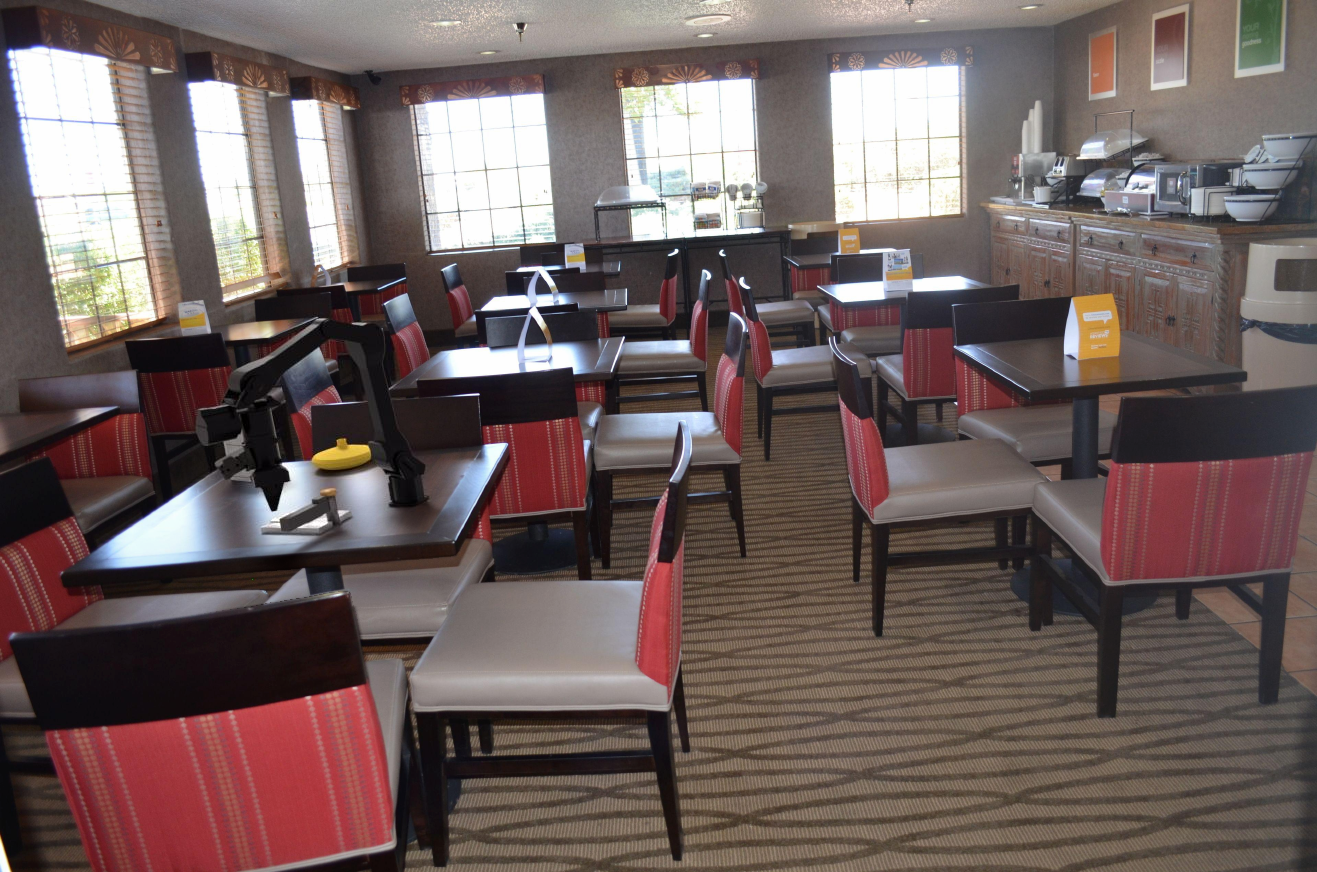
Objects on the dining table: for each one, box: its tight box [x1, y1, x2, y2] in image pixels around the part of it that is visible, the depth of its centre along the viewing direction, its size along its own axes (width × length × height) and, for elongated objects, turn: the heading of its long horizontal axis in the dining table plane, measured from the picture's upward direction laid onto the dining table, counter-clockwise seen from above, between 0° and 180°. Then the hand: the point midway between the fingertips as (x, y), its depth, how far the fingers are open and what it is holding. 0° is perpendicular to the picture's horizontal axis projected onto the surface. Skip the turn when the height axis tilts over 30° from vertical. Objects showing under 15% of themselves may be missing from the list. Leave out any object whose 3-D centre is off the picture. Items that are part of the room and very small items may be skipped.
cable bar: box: [279, 487, 338, 532], centre depth 189 cm, size 15×3×4 cm, turn 162°
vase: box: [311, 438, 371, 471], centre depth 244 cm, size 16×16×7 cm
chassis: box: [260, 494, 353, 535], centre depth 197 cm, size 15×11×6 cm
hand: (274, 510), depth 186 cm, fingers closed
